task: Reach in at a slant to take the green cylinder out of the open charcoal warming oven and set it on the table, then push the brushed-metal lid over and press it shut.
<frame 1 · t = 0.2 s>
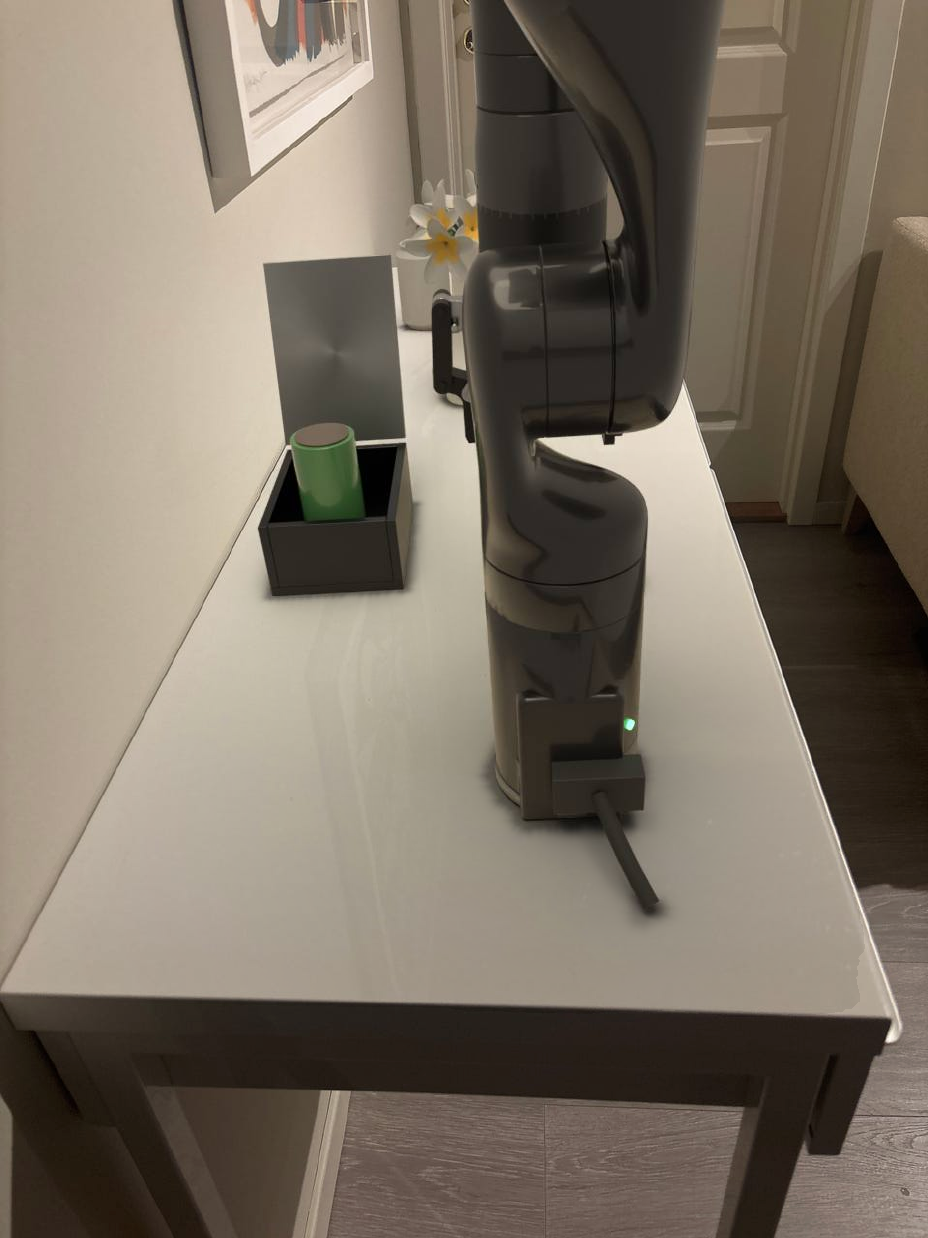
hand: (544, 442, 65), 17 cm above the table, tool pointing down, fingers open, 8 cm apart
flower vase: (474, 400, 118), on the table
lid: (336, 352, 90), point 15 cm above the table, hinge at 105.0°
warmer: (347, 547, 90), on the table
green cylinder: (342, 559, 87), point 1 cm above the table, touching warmer
can: (427, 324, 144), on the table
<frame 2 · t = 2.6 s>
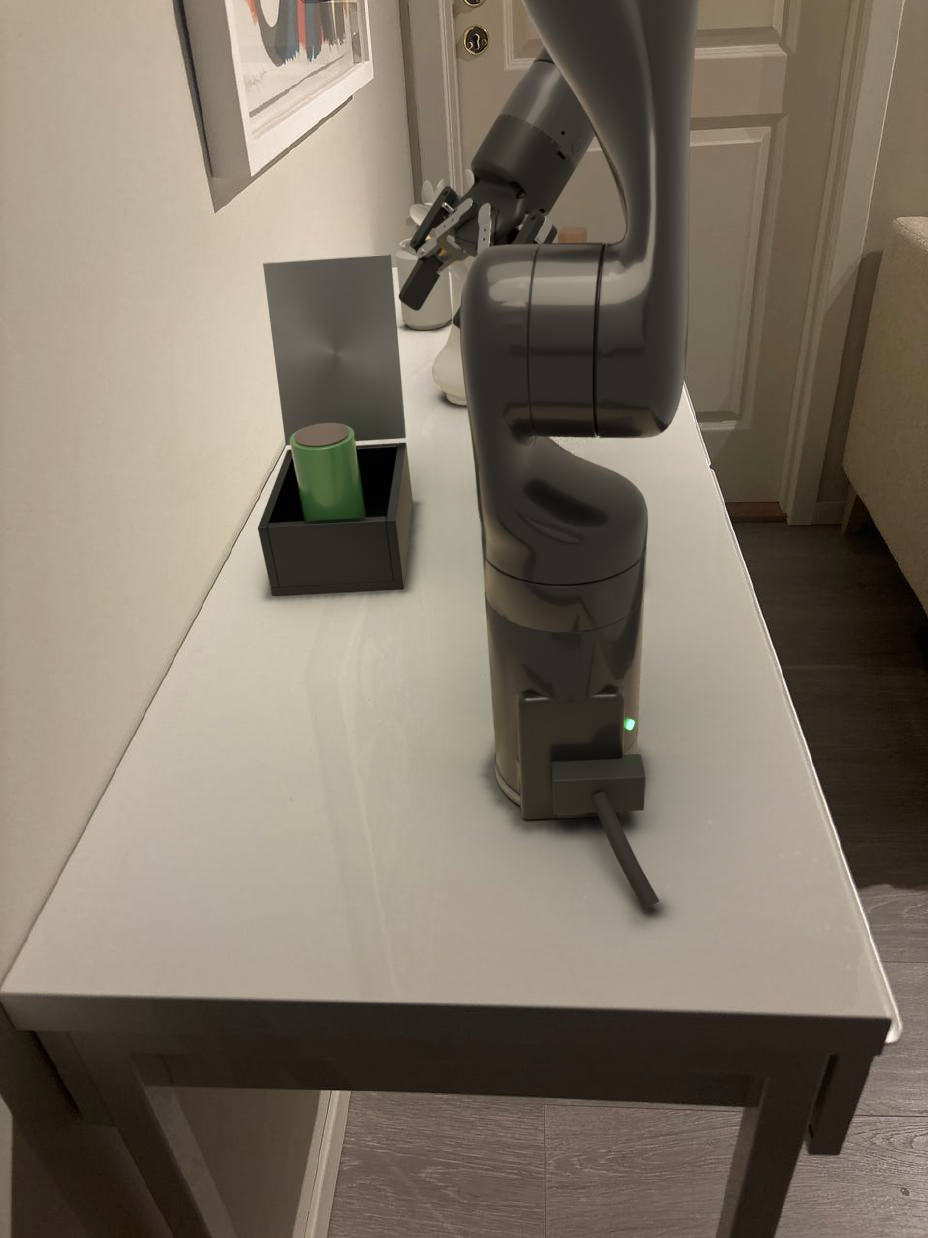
hand: (433, 317, 80), 20 cm above the table, tool tilted 45°, fingers open, 8 cm apart
nothing on the table moved.
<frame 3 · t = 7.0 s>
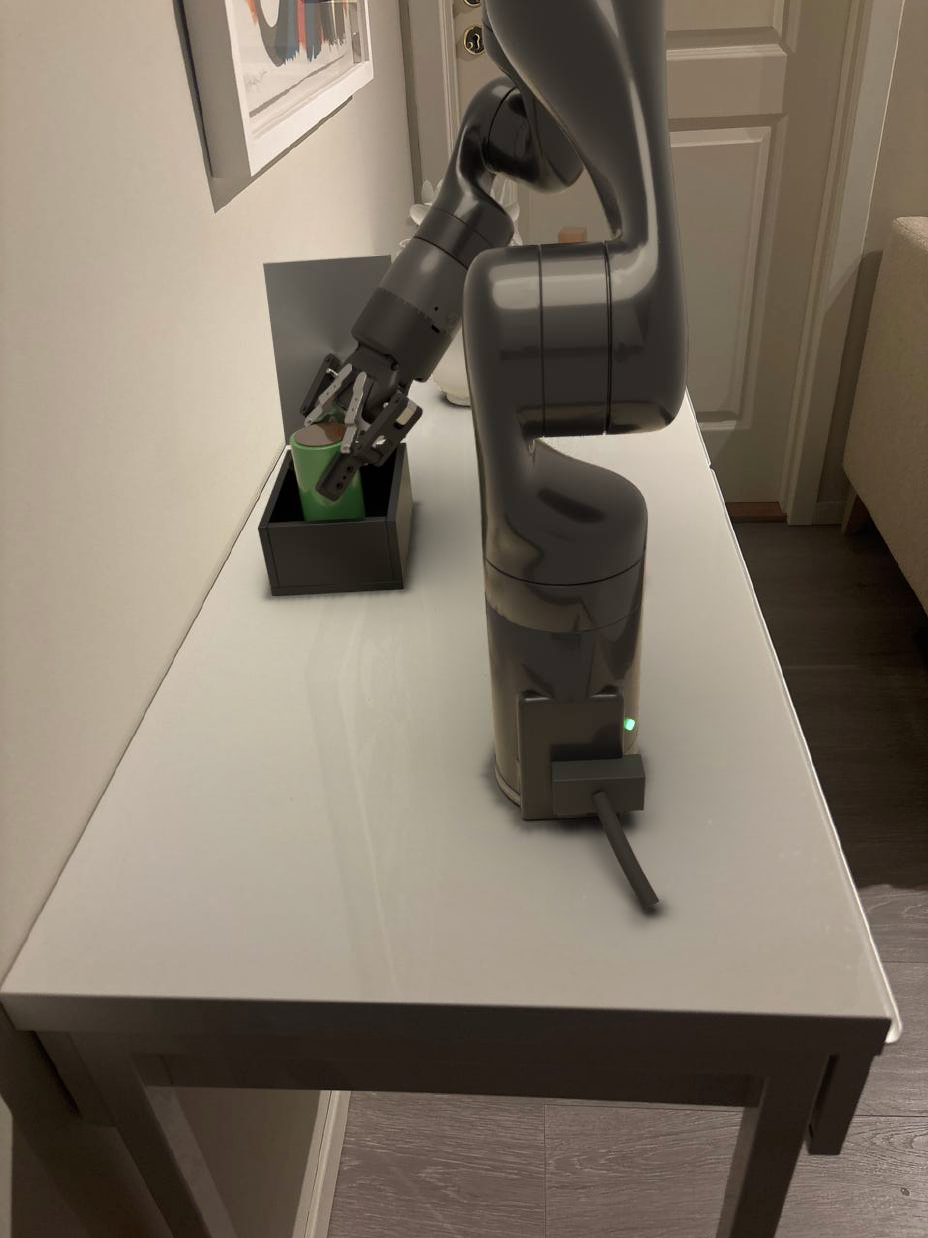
hand: (309, 482, 81), 9 cm above the table, tool tilted 45°, fingers closed on green cylinder, 5 cm apart
green cylinder: (342, 559, 87), point 1 cm above the table, touching gripper, warmer
everything else where it was.
when the fingers open (8 cm above the table, at t = 15.4 s): green cylinder stays where it is, on the table.
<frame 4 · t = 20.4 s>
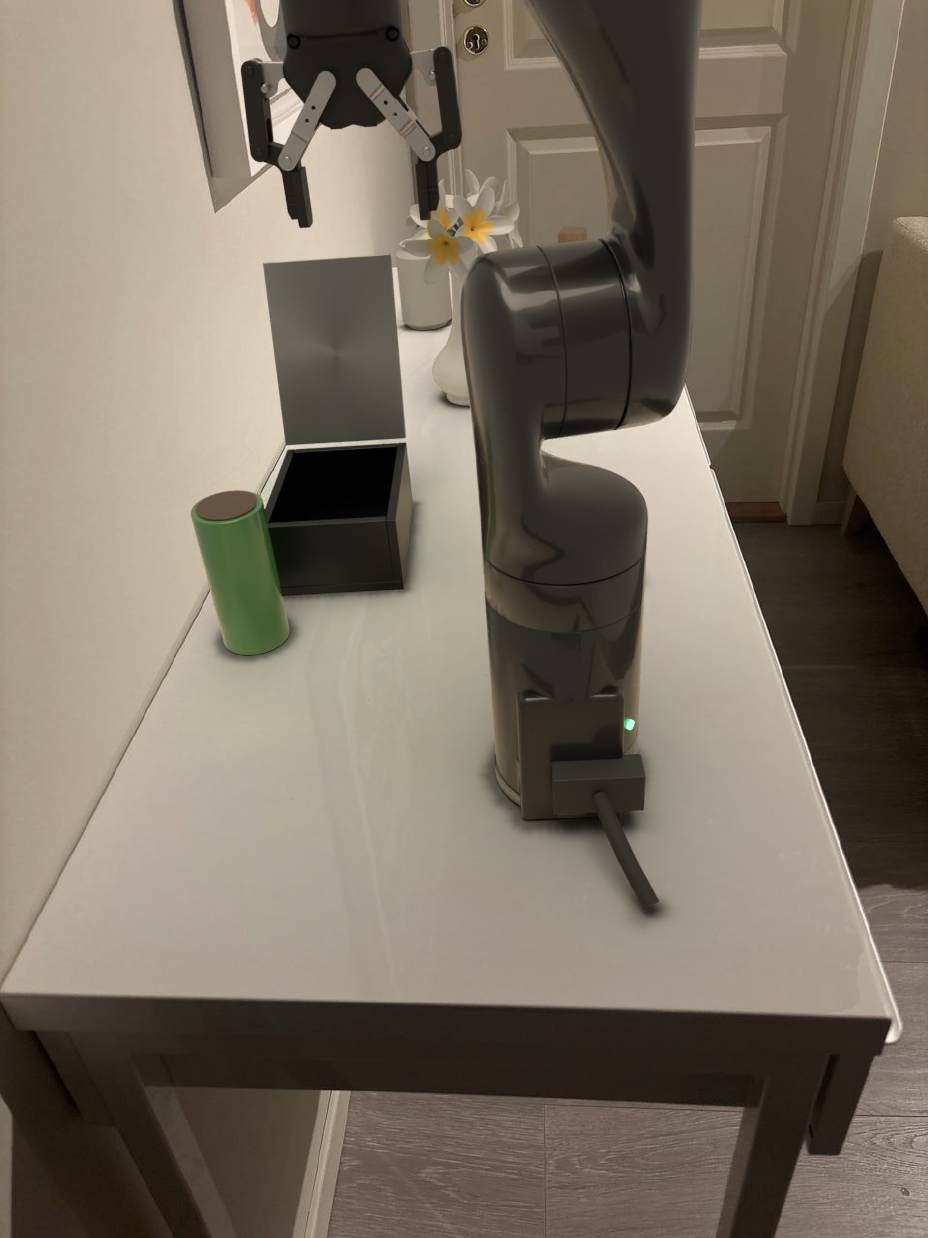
hand: (366, 221, 68), 30 cm above the table, tool pointing down, fingers open, 8 cm apart
green cylinder: (256, 635, 79), on the table
everything else where it was.
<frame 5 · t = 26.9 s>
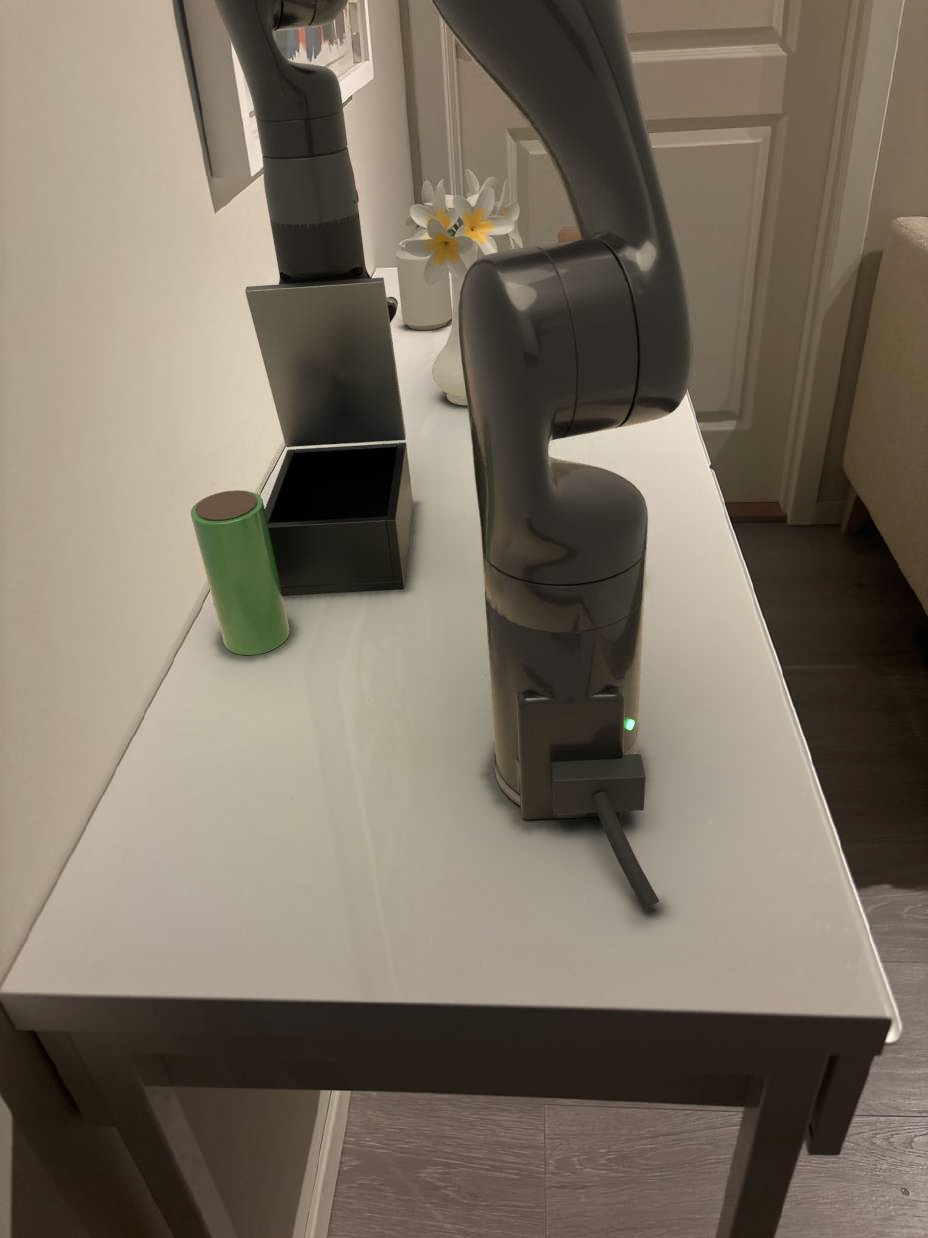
hand: (342, 403, 91), 11 cm above the table, tool pointing down, fingers closed
lid: (331, 368, 86), point 15 cm above the table, hinge at 75.3°, touching gripper
everything else where it was.
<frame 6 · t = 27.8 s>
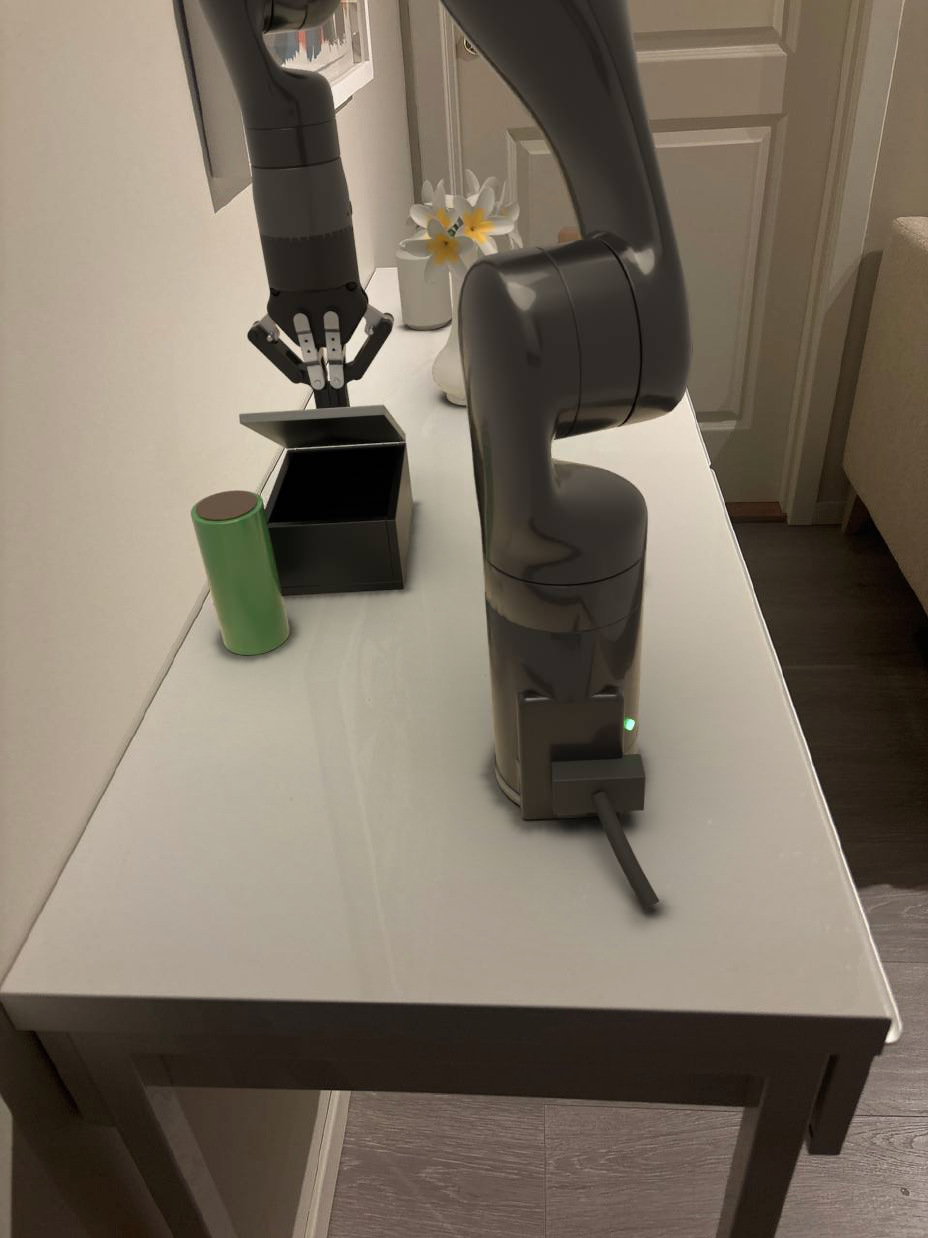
hand: (336, 424, 87), 11 cm above the table, tool pointing down, fingers closed
lid: (330, 428, 84), point 12 cm above the table, hinge at 31.4°, touching gripper
everything else where it was.
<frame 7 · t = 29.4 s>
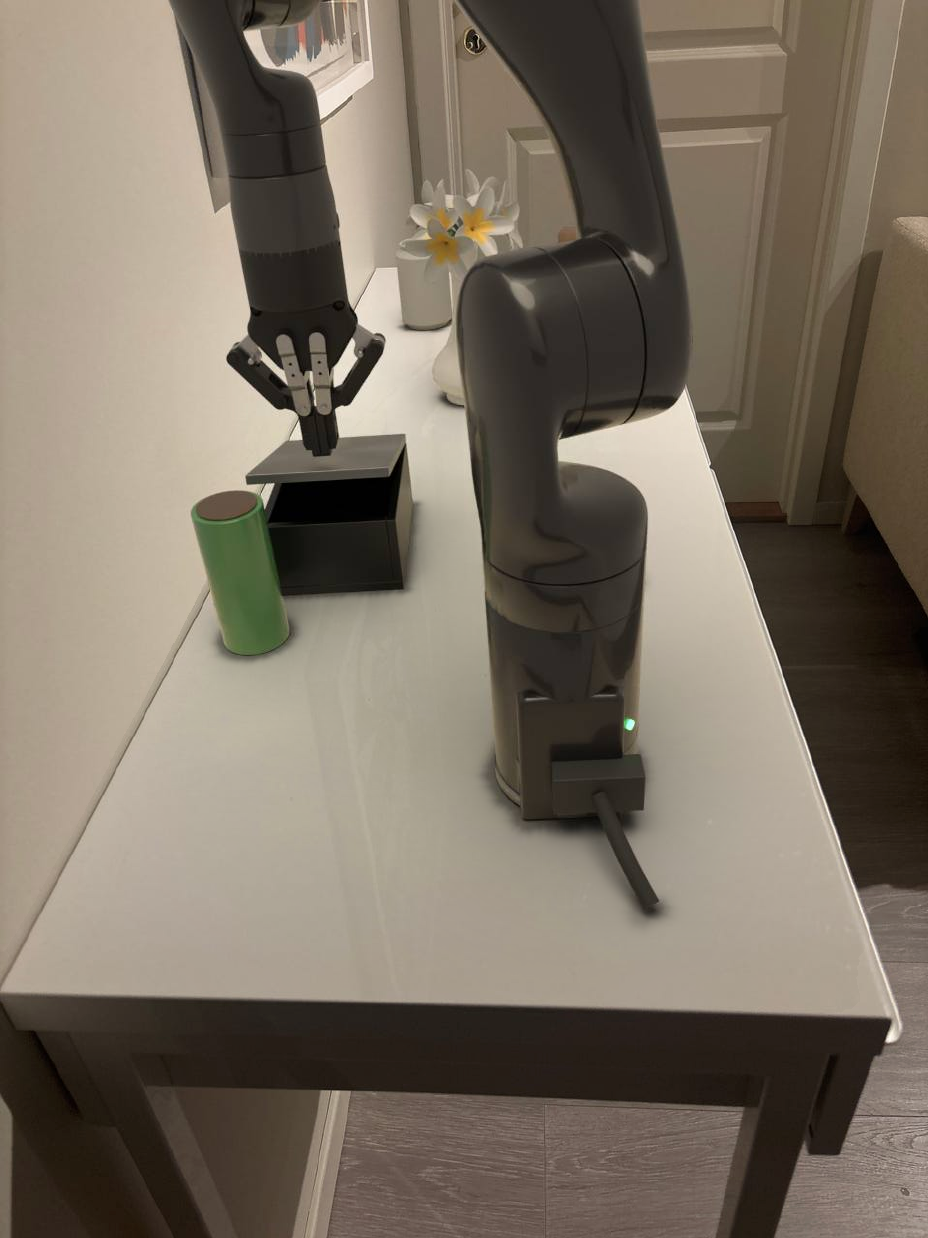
hand: (323, 452, 80), 11 cm above the table, tool pointing down, fingers closed
lid: (332, 457, 85), point 9 cm above the table, hinge at 14.5°
everything else where it was.
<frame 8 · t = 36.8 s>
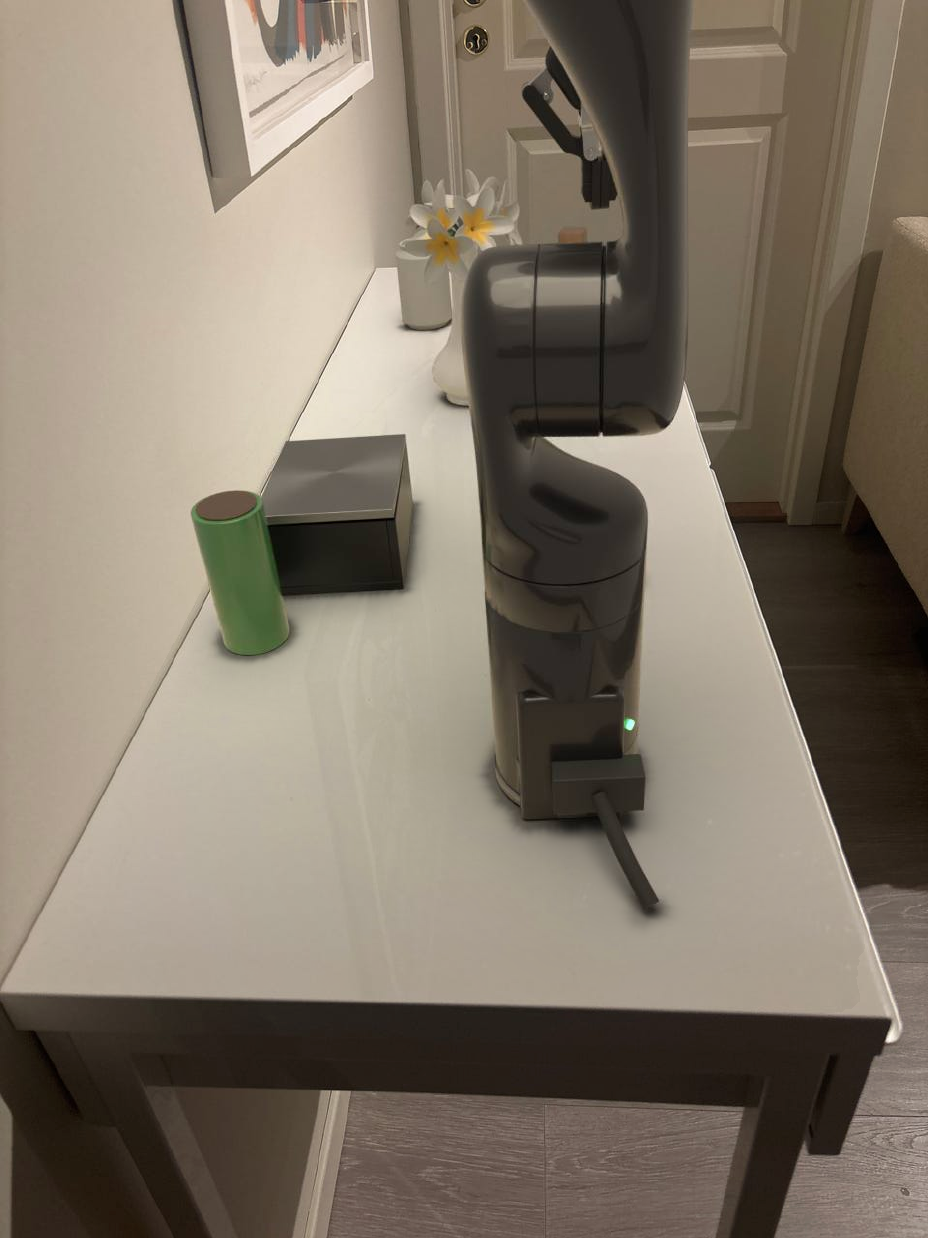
hand: (599, 206, 79), 27 cm above the table, tool pointing down, fingers closed
lid: (335, 476, 85), point 8 cm above the table, hinge at 2.2°
everything else where it was.
at the end: green cylinder inside the target area (0.2 cm from its centre), on the table; green cylinder tilted 0°; lid at +2° (first picture: +105°) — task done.
